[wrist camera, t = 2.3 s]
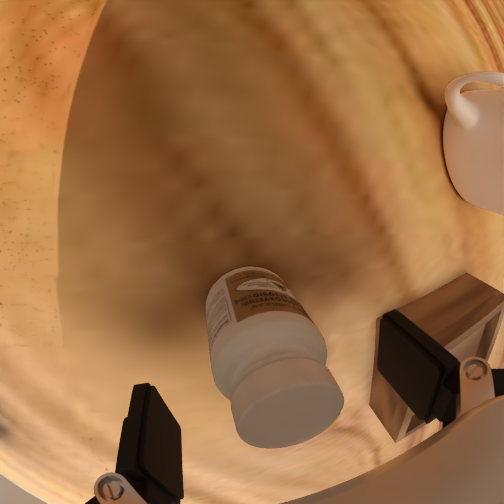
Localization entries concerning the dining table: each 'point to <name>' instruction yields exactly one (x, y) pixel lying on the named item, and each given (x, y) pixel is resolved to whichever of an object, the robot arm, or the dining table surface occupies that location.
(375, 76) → the dining table surface
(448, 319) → the walnut box
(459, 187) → the mug
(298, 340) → the pill bottle
